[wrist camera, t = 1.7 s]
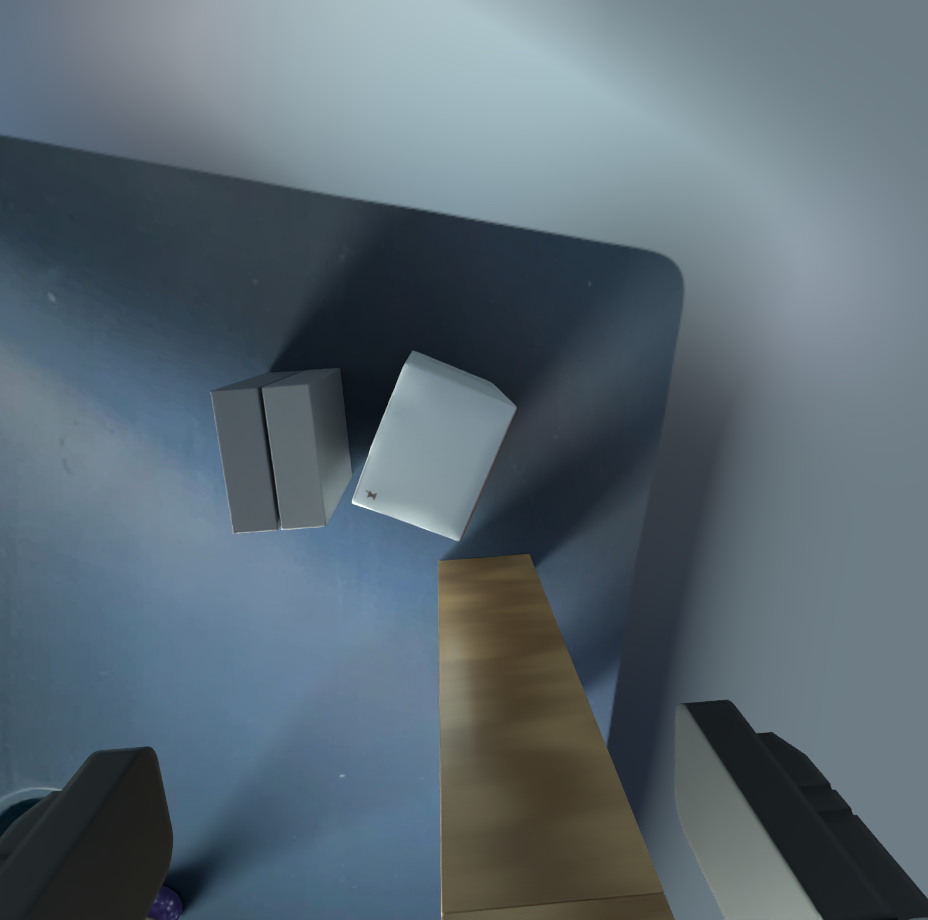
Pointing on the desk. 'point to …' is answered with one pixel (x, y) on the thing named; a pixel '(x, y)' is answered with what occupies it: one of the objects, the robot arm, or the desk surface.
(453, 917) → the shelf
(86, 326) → the desk surface
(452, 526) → the small box
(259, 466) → the grey books
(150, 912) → the toy lamp
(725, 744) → the robot arm
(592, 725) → the shelf stand
